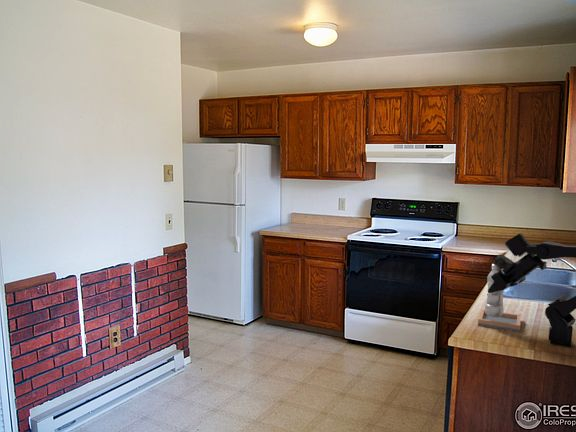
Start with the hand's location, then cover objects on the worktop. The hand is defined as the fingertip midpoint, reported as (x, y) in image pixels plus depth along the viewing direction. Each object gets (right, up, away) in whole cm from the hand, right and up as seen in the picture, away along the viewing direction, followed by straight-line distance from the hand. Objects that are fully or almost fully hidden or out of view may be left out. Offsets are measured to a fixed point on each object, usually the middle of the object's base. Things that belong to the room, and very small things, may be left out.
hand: (491, 290), depth 186 cm
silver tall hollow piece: (+1, -10, 0) cm, 10 cm away
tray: (+5, -13, +4) cm, 14 cm away
